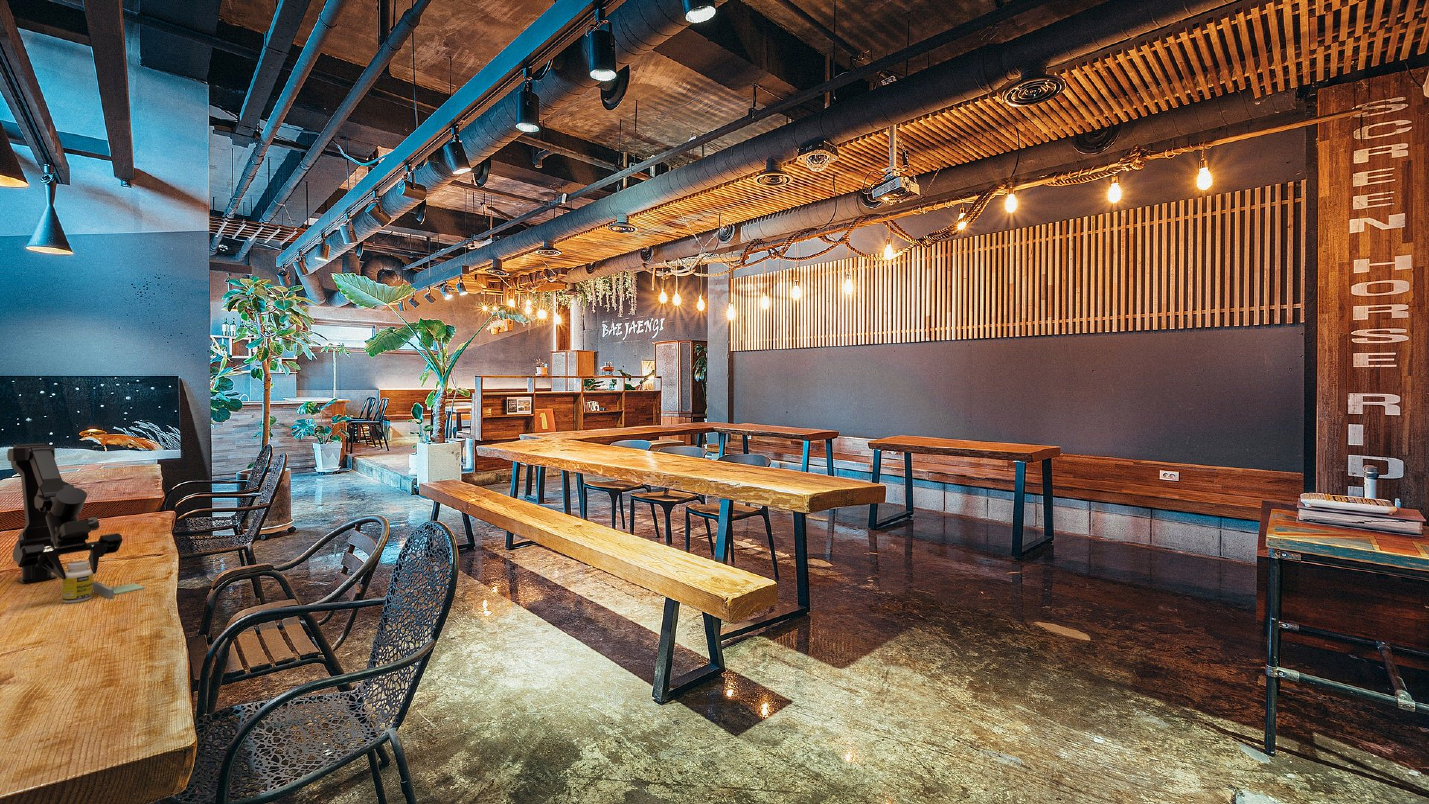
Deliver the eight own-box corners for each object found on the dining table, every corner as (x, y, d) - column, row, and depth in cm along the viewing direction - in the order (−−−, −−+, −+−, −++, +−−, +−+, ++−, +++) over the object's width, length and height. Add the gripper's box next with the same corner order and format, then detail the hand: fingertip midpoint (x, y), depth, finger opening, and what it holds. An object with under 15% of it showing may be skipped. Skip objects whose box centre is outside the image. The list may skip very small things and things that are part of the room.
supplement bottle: (77, 603, 157) (77, 565, 157) (56, 603, 157) (56, 565, 157) (98, 596, 163) (98, 559, 162) (78, 596, 163) (78, 559, 163)
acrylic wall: (92, 591, 167) (92, 582, 167) (96, 590, 167) (96, 581, 167) (109, 599, 161) (109, 589, 161) (113, 598, 161) (113, 589, 161)
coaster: (105, 590, 168) (105, 588, 168) (134, 584, 173) (134, 583, 173) (115, 594, 164) (115, 593, 164) (144, 588, 169) (144, 587, 169)
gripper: (20, 514, 153) (34, 565, 148) (120, 503, 170) (136, 549, 164) (10, 542, 157) (24, 592, 152) (109, 528, 174) (124, 573, 168)
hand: (80, 575), depth 159 cm, fingers closed on supplement bottle, 5 cm apart
